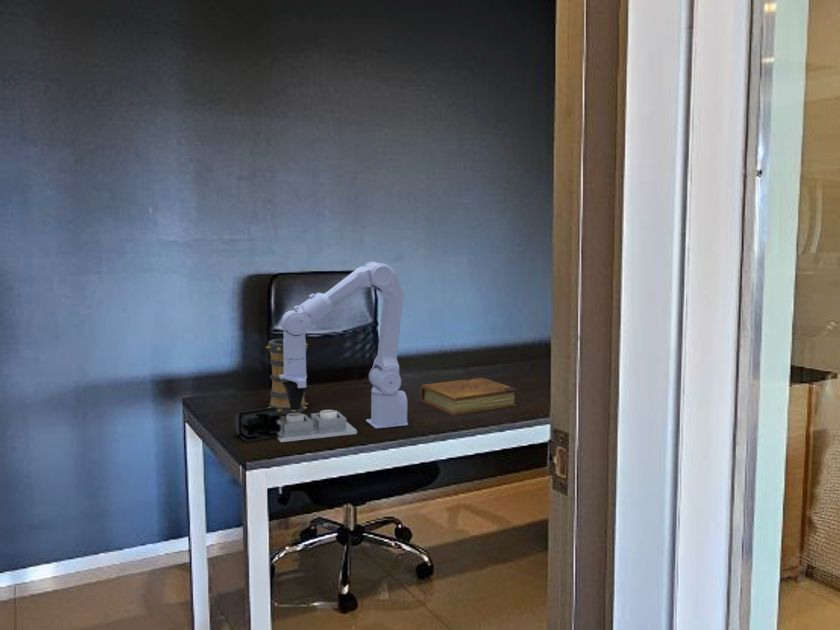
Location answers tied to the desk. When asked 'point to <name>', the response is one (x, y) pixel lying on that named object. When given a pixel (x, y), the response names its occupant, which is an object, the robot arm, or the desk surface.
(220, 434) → the desk surface
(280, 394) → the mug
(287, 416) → the knob
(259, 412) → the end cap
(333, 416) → the knob
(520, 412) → the desk surface
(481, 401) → the diary
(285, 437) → the mount
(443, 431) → the desk surface
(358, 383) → the desk surface
